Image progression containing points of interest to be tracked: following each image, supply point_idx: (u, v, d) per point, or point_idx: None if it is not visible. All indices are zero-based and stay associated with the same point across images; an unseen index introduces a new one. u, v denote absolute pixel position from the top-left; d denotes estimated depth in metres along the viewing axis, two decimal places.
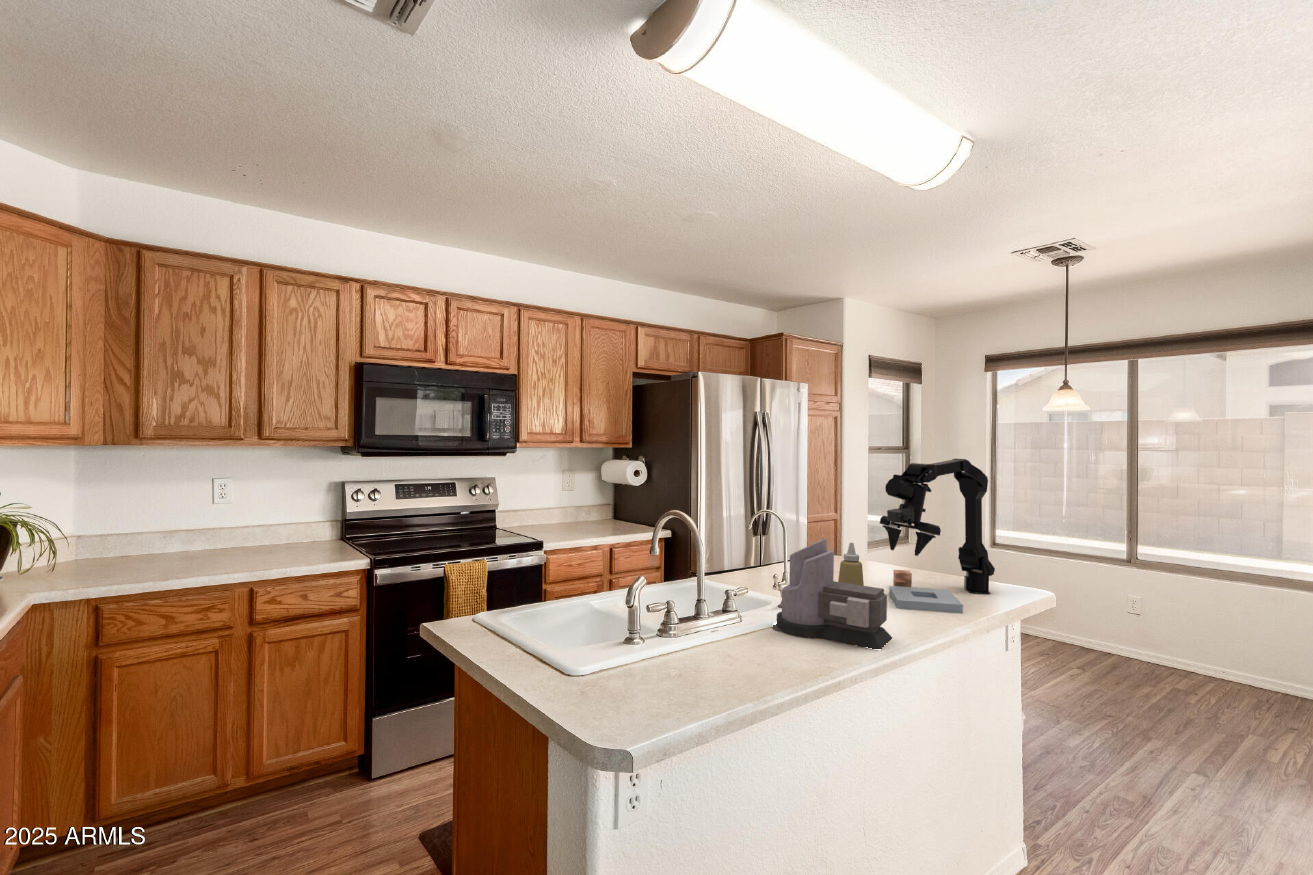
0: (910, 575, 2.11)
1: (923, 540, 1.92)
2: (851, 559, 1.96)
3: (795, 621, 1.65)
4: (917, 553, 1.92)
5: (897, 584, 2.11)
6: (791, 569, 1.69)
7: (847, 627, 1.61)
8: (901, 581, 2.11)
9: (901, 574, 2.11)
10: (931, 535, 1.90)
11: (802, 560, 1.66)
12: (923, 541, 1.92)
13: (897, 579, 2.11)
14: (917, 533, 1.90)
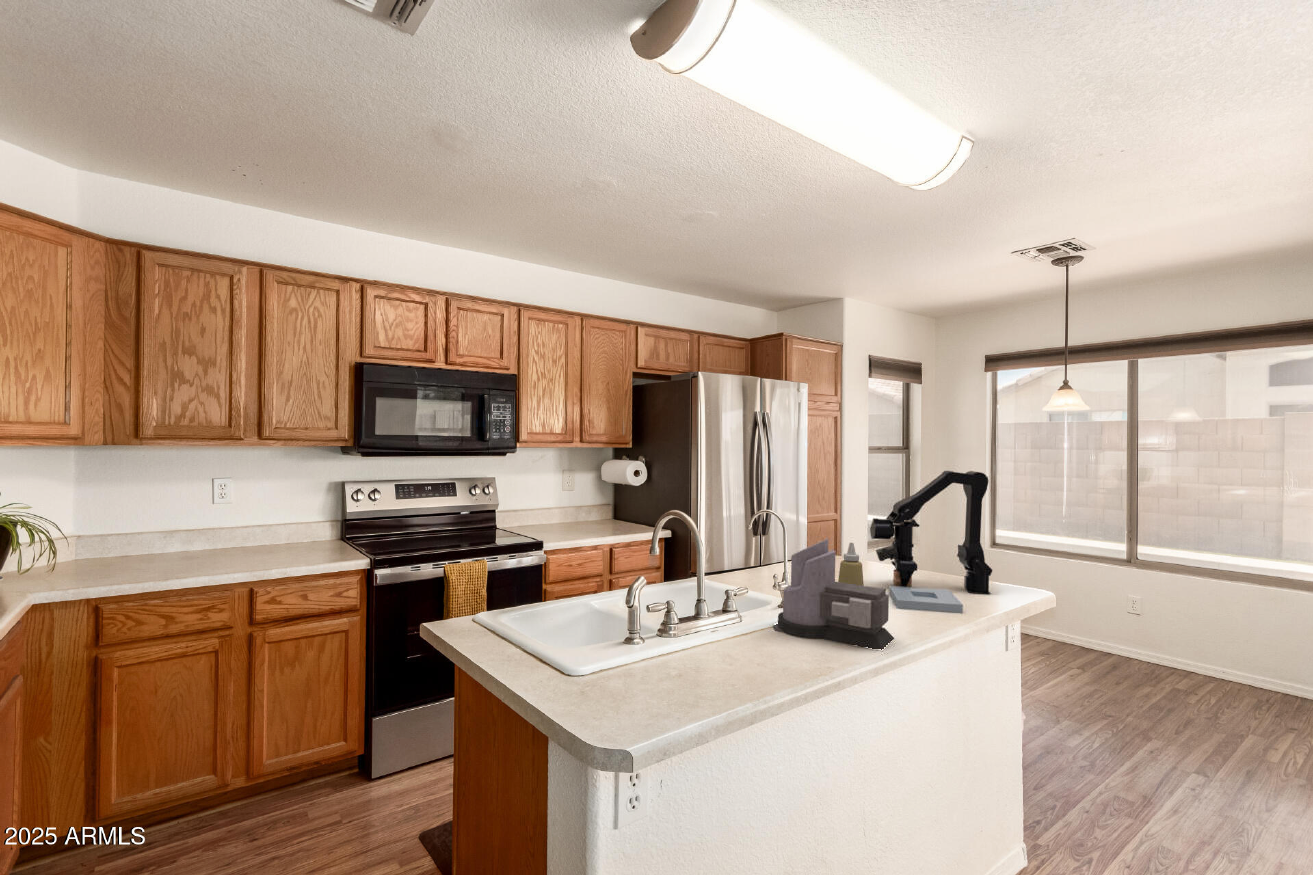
0: None
1: (905, 574, 2.10)
2: (851, 559, 1.96)
3: (797, 622, 1.64)
4: (903, 586, 2.11)
5: (897, 584, 2.11)
6: (793, 569, 1.68)
7: (849, 628, 1.60)
8: None
9: None
10: (907, 569, 2.07)
11: (804, 560, 1.65)
12: (906, 575, 2.10)
13: (897, 579, 2.11)
14: (895, 568, 2.10)
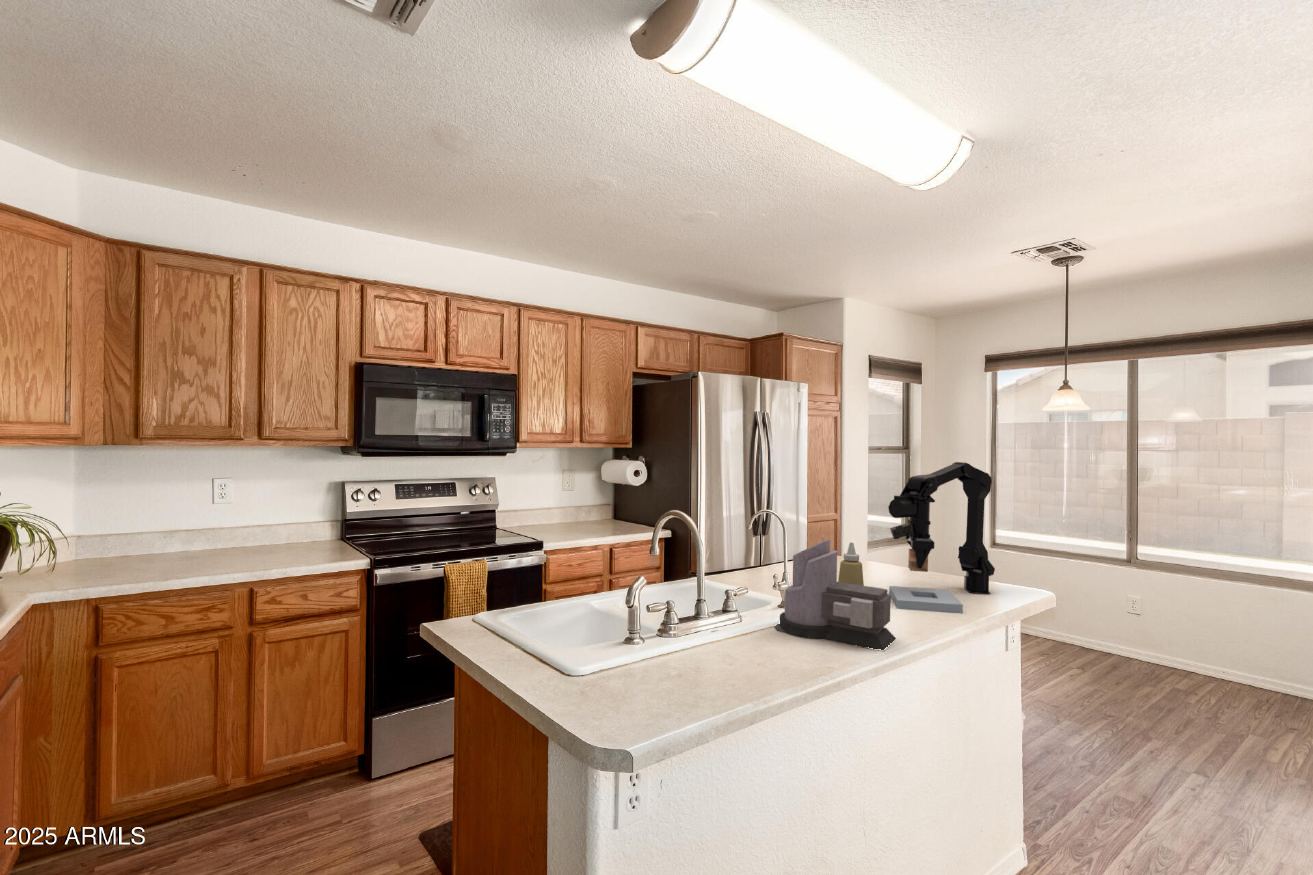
0: None
1: (921, 553, 1.97)
2: (851, 559, 1.96)
3: (798, 622, 1.64)
4: (919, 565, 1.98)
5: (912, 564, 1.99)
6: (794, 569, 1.68)
7: (850, 628, 1.60)
8: None
9: None
10: (924, 548, 1.95)
11: (805, 560, 1.65)
12: (922, 554, 1.97)
13: (912, 558, 1.99)
14: None
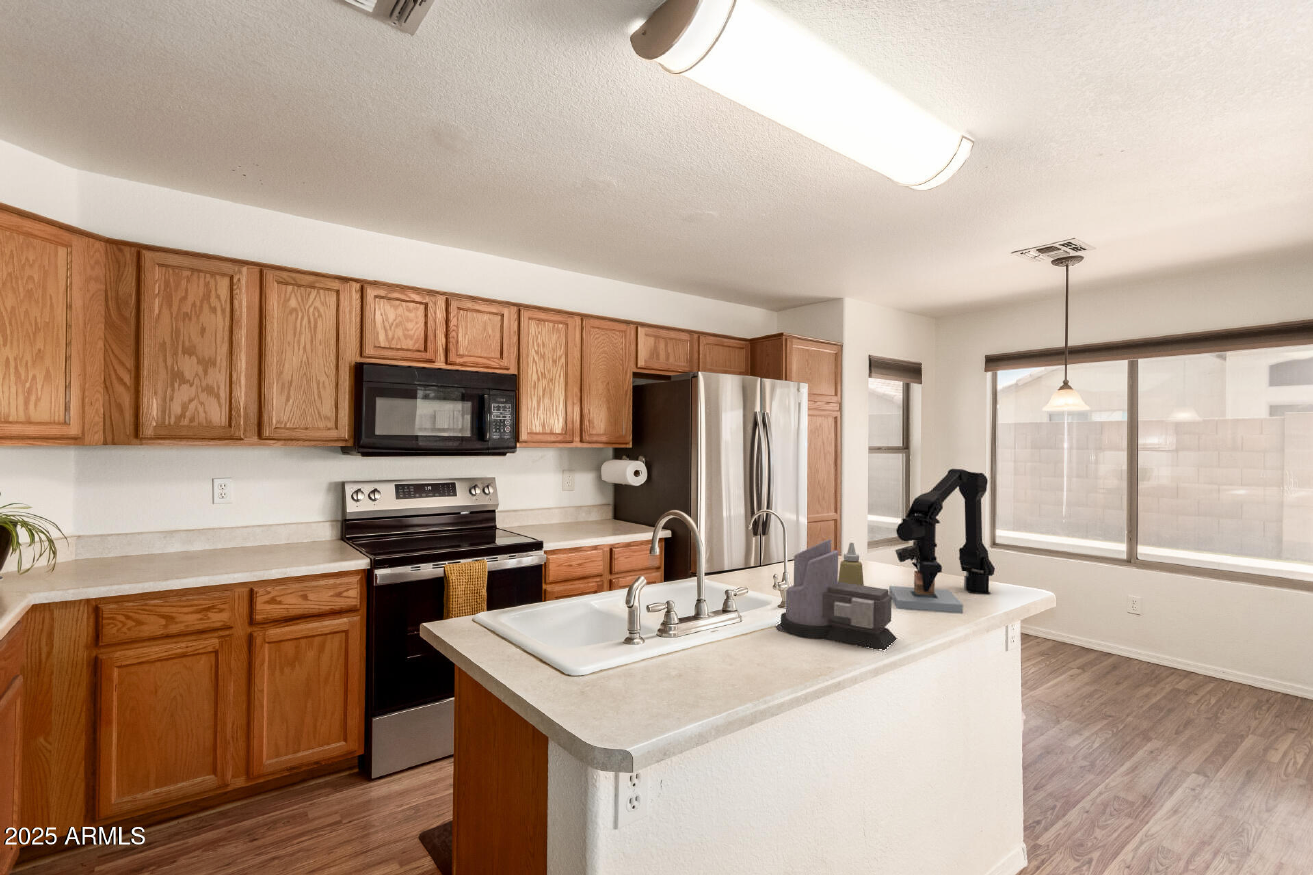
0: None
1: (928, 576, 1.93)
2: (851, 559, 1.96)
3: (799, 622, 1.64)
4: (926, 589, 1.94)
5: (919, 587, 1.95)
6: (795, 569, 1.68)
7: (851, 628, 1.60)
8: None
9: None
10: None
11: (806, 560, 1.65)
12: (928, 577, 1.93)
13: (919, 581, 1.95)
14: (917, 570, 1.94)
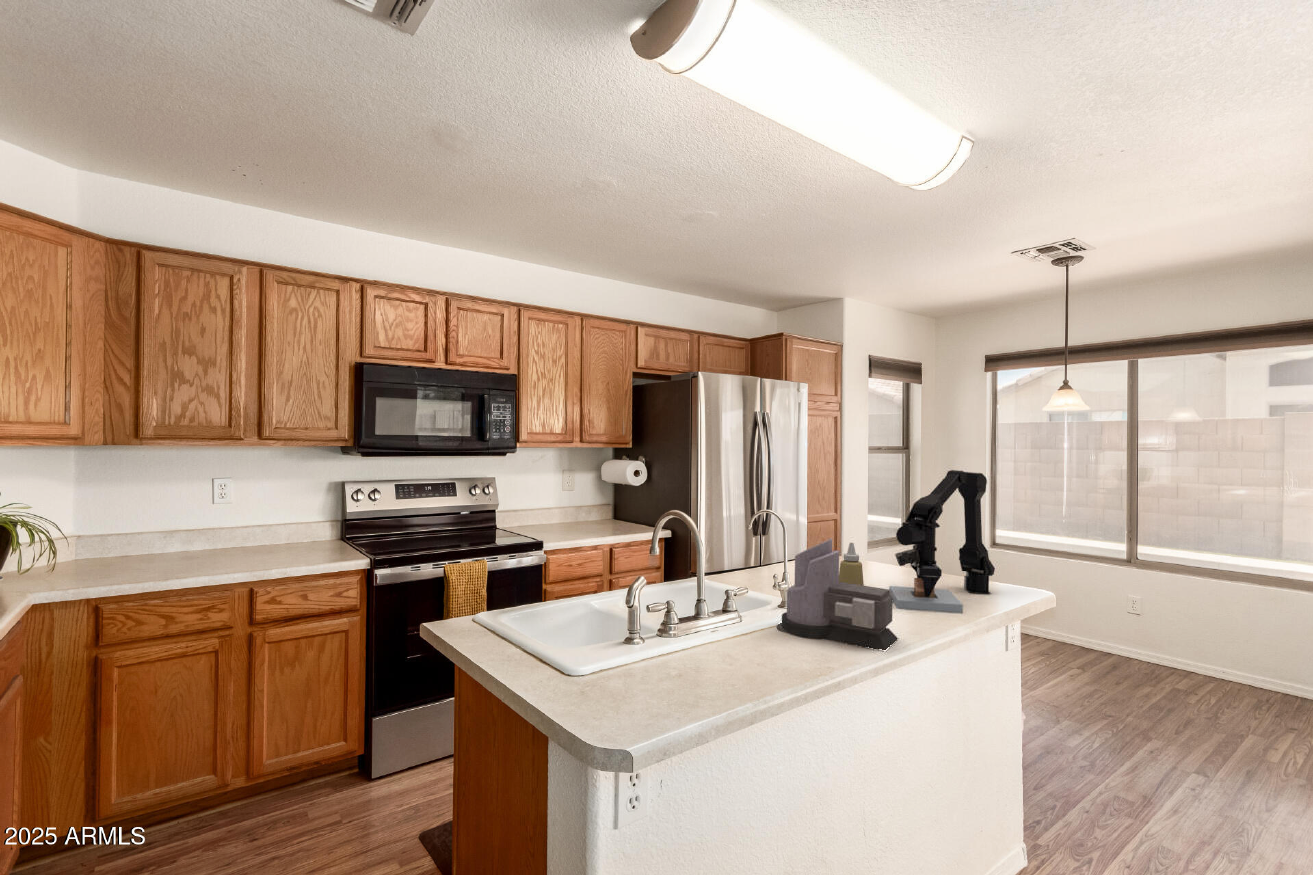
0: None
1: (929, 581, 1.91)
2: (851, 559, 1.96)
3: (800, 622, 1.64)
4: (927, 594, 1.92)
5: (918, 594, 1.95)
6: (796, 569, 1.68)
7: (852, 628, 1.60)
8: (923, 590, 1.95)
9: None
10: (932, 576, 1.89)
11: (807, 560, 1.65)
12: (929, 582, 1.91)
13: (918, 588, 1.95)
14: (918, 575, 1.92)
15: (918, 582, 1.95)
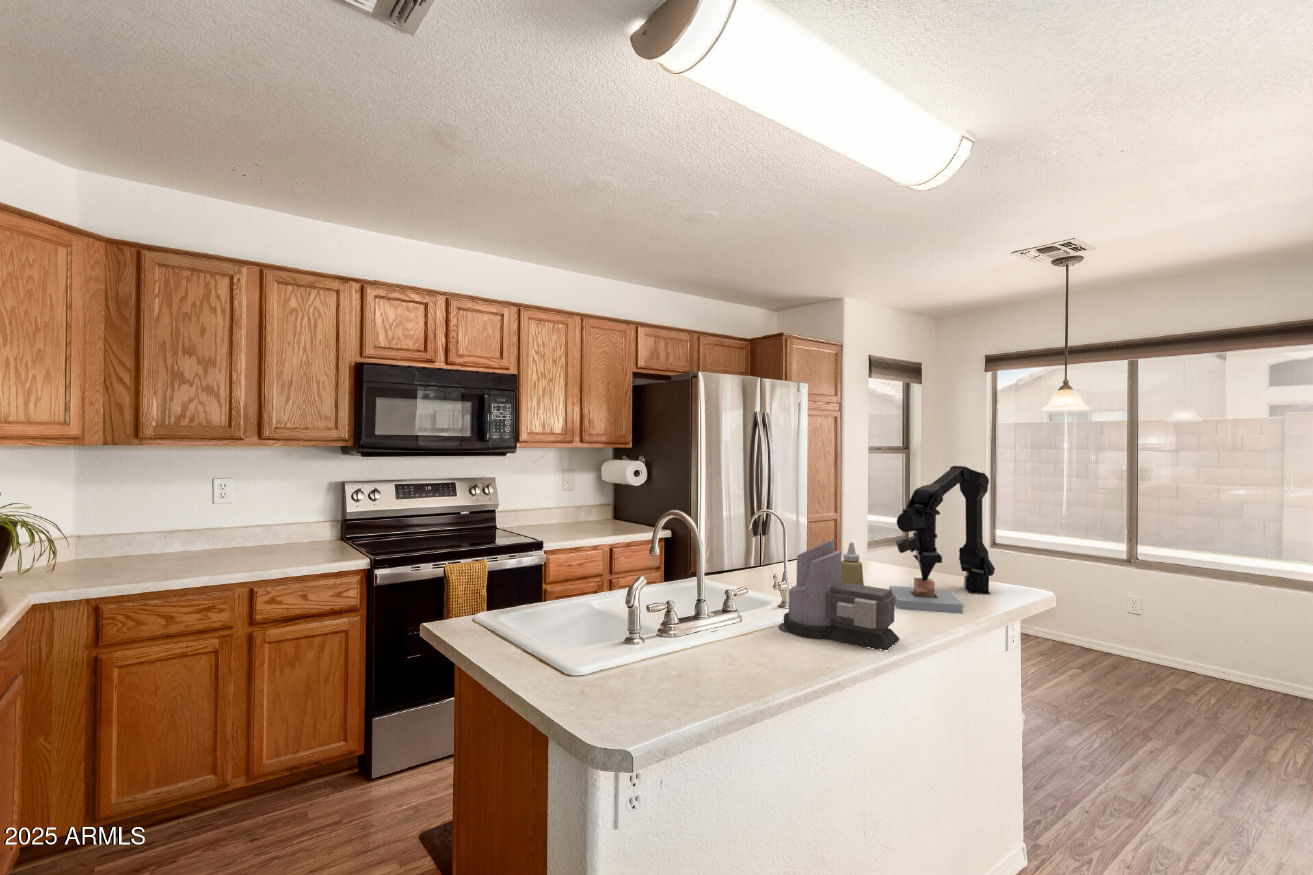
0: (933, 584, 1.94)
1: (927, 565, 1.95)
2: (851, 559, 1.96)
3: (802, 622, 1.64)
4: (924, 578, 1.96)
5: (918, 594, 1.95)
6: (798, 570, 1.68)
7: (854, 628, 1.60)
8: (923, 590, 1.95)
9: (923, 583, 1.95)
10: None
11: (809, 561, 1.65)
12: (927, 566, 1.95)
13: (918, 588, 1.95)
14: (916, 559, 1.96)
15: (918, 582, 1.95)
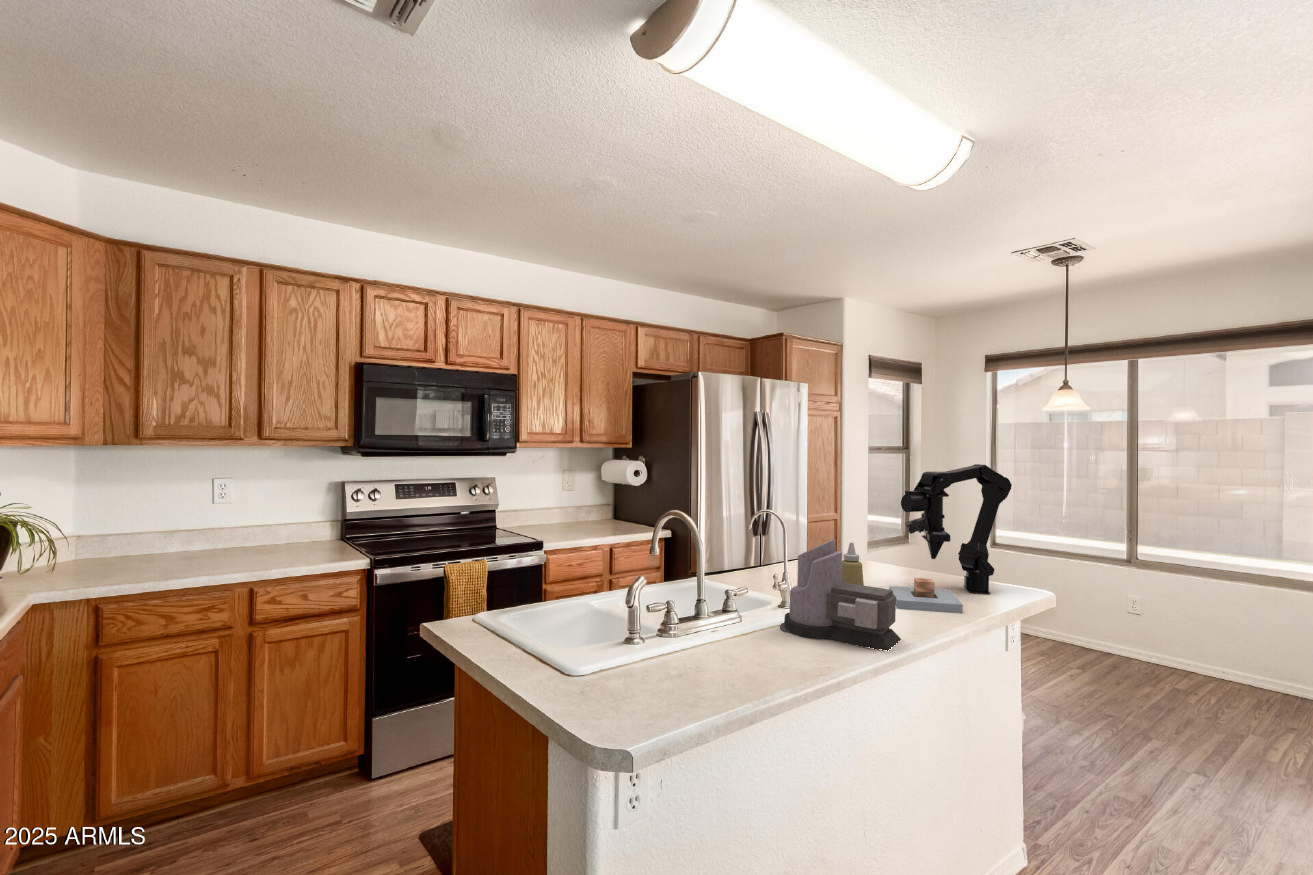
0: (933, 584, 1.94)
1: (935, 544, 2.06)
2: (851, 559, 1.96)
3: (803, 622, 1.64)
4: (933, 556, 2.07)
5: (918, 594, 1.95)
6: (799, 570, 1.68)
7: (855, 628, 1.60)
8: (923, 590, 1.95)
9: (923, 583, 1.95)
10: None
11: (810, 561, 1.65)
12: (935, 545, 2.06)
13: (918, 588, 1.95)
14: (925, 539, 2.06)
15: (918, 582, 1.95)
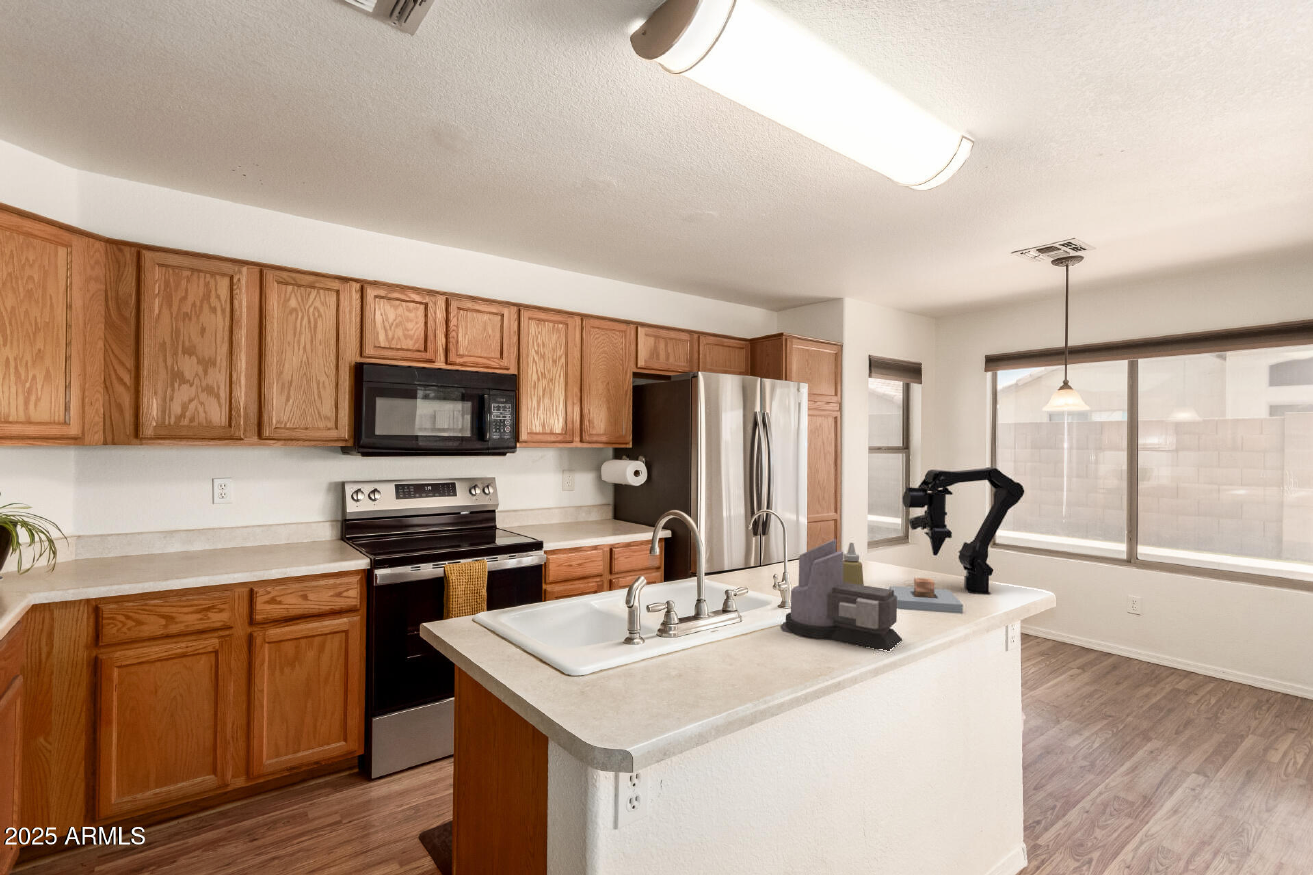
0: (933, 584, 1.94)
1: (937, 541, 2.10)
2: (851, 559, 1.96)
3: (804, 622, 1.64)
4: (935, 553, 2.11)
5: (918, 594, 1.95)
6: (800, 570, 1.68)
7: (856, 628, 1.60)
8: (923, 590, 1.95)
9: (923, 583, 1.95)
10: None
11: (811, 561, 1.65)
12: (937, 542, 2.10)
13: (918, 588, 1.95)
14: (927, 535, 2.10)
15: (918, 582, 1.95)
